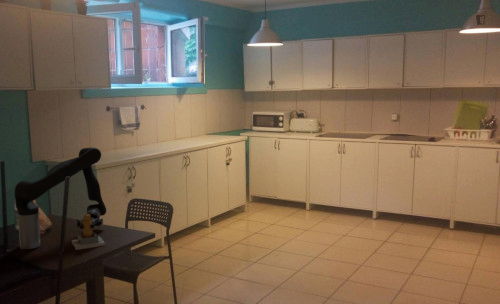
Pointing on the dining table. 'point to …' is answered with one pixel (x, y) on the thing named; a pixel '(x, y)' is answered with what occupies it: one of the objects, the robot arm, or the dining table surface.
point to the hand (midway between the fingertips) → (86, 226)
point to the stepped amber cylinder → (87, 226)
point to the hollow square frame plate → (88, 242)
